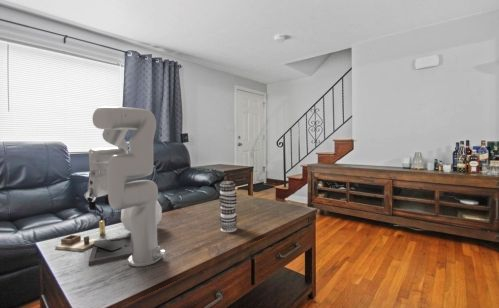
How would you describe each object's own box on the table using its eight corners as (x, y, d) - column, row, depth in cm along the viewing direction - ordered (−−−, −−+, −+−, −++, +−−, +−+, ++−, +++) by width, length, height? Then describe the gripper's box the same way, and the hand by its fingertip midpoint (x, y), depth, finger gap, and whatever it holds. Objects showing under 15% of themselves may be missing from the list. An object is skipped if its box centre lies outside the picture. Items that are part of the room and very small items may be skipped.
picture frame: (94, 245, 115) (88, 265, 96) (94, 240, 115) (88, 260, 96) (133, 238, 122) (134, 256, 103) (133, 234, 122) (134, 251, 103)
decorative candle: (237, 232, 126) (235, 183, 125) (218, 232, 127) (217, 183, 125) (238, 226, 136) (237, 180, 134) (221, 226, 136) (219, 180, 134)
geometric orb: (144, 240, 136) (155, 205, 146) (162, 236, 123) (173, 198, 134) (108, 230, 125) (123, 193, 136) (123, 224, 112) (138, 184, 123)
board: (101, 242, 118) (100, 233, 118) (82, 251, 108) (82, 242, 108) (75, 239, 121) (75, 231, 121) (55, 248, 111) (54, 239, 111)
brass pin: (106, 233, 128) (105, 220, 128) (102, 235, 126) (101, 221, 125) (102, 233, 129) (101, 220, 128) (98, 235, 126) (97, 221, 126)
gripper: (90, 176, 116) (92, 212, 117) (118, 170, 133) (119, 202, 134) (77, 175, 118) (79, 211, 119) (105, 170, 134) (107, 201, 136)
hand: (100, 206), depth 126 cm, fingers open, 9 cm apart
